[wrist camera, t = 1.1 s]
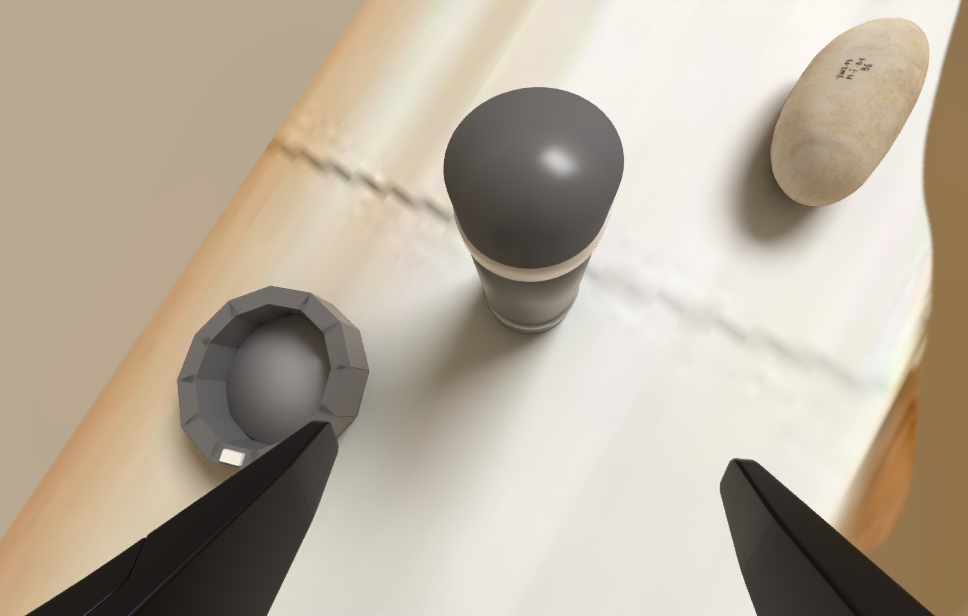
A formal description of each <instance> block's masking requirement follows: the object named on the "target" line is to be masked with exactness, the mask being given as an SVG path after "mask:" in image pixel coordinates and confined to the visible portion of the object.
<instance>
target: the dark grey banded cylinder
mask: <svg viewBox="0 0 968 616" xmlns="http://www.w3.org/2000/svg"><path fill="white" fill-rule="evenodd" d="M623 169H624V155H623V147H622V144H621V140H620V137H619V135H618V133H617V131H616V129H615V127H614V125H613V124H612V122H611V121H610V120H609V118H608V117H607V116H606V115H605V114H604V113H603V112H602V111H601V110H600V109H599V108H598V107H597V106H595V105H594V104H592V103H591V102H589V101H588V100H586V99H584V98H582V97H580V96H578V95H576V94H573V93H570V92H567V91H563V90H559V89H554V88H546V87H532V88H522V89H517V90H512V91H509V92H506V93H503V94H500V95H498V96H495V97H493V98H491V99H489V100H487V101H486V102H484V103H482V104H481V105H479V106H478V107H477V108H475V109H474V110H473V111H472V112H471V113H469V114H468V115H467V116H466V117H465V118H464V119H463V121H462V122H461V123H460V124H459V125H458V127H457V128H456V130H455V131H454V133H453V135H452V137H451V139H450V141H449V143H448V146H447V149H446V153H445V158H444V180H445V185H446V188H447V192H448V194H449V197H450V200H451V202H452V205H453V209H454V216H455V220H456V224H457V227H458V229H459V232H460V234H461V237H462V239H463V241H464V244H465V246H466V247H467V249H468V251H469V252H470V254H471V256H472V258H473V261H474V264H475V266H476V269H477V272H478V274H479V277H480V280H481V282H482V285H483V291H484V295H485V298H486V301H487V303H488V305H489V307H490V309H491V310H492V312H493V313H494V315H495V316H496V317H497V319H498V320H499V321H500V322H501V323H502V324H503V325H505V326H506V327H508V328H509V329H511V330H513V331H516V332H519V333H525V334H536V333H541V332H545V331H547V330H550V329H552V328H553V327H555V326H556V325H557V324H559V323H560V322H561V321H562V320H563V319H564V317H565V316H566V315H567V313H568V312H569V310H570V309H571V307H572V306H573V304H574V301H575V299H576V296H577V294H578V289H579V284H580V282H581V279H582V277H583V274H584V272H585V269H586V267H587V264H588V262H589V259H590V257H591V255H592V252H593V251H594V250H595V248H596V247H597V245H598V243H599V242H600V240H601V238H602V235H603V233H604V230H605V228H606V226H607V223H608V220H609V218H610V214H611V209H612V203H613V200H614V198H615V195H616V193H617V190H618V188H619V185H620V182H621V179H622V174H623Z"/></svg>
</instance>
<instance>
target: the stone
mask: <svg viewBox="0 0 968 616" xmlns="http://www.w3.org/2000/svg"><path fill="white" fill-rule="evenodd" d="M928 63H929V45H928V41H927V38H926V35H925V33H924V32H923V31H922V29H921V28H920V27H919V26H918V25H916V24H915V23H913V22H911V21H909V20H905V19H902V18H883V19H876V20H872V21H869V22H866V23H863V24H861V25H858V26H856V27H854V28H852V29H850V30H848V31H846V32H844V33H842V34H841V35H839V36H838V37H836V38H835V39H834V40H833V41H831V42H830V43H829V44H828V45H827V46H826V47H825V48H823V49H822V50H821V51H820V52H819V53H818V54H817V55H816V56H815V58H814V59H813V60H812V61H811V63H810V64H809V65H808V67H807V68H806V70H805V71H804V72H803V74H802V75H801V77H800V79H799V80H798V82H797V84H796V85H795V87H794V89H793V91H792V92H791V94H790V96H789V98H788V99H787V101H786V103H785V104H784V106H783V108H782V111H781V113H780V116H779V119H778V121H777V124H776V127H775V130H774V135H773V139H772V144H771V163H772V170H773V174H774V177H775V179H776V181H777V183H778V184H779V186H780V187H781V189H782V190H783V191H784V193H785V194H786V195H787V196H789V197H790V198H791V199H792V200H794V201H796V202H798V203H800V204H803V205H808V206H823V205H829V204H832V203H835V202H838V201H840V200H842V199H844V198H846V197H847V196H849V195H851V194H852V193H853V192H855V191H856V190H857V189H858V188H860V187H861V186H862V185H863V183H864V182H865V181H866V180H867V179H868V177H869V176H870V175H871V174H872V172H873V171H874V170H875V168H876V167H877V166H878V165H879V163H880V162H881V161H882V159H883V158H884V157H885V155H886V154H887V152H888V151H889V149H890V148H891V146H892V145H893V143H894V141H895V140H896V138H897V136H898V135H899V133H900V132H901V130H902V128H903V126H904V125H905V123H906V121H907V119H908V117H909V115H910V114H911V112H912V110H913V108H914V106H915V104H916V102H917V100H918V97H919V95H920V92H921V90H922V87H923V84H924V81H925V77H926V74H927V70H928Z"/></svg>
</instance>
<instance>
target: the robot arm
mask: <svg viewBox="0 0 968 616" xmlns="http://www.w3.org/2000/svg"><path fill="white" fill-rule="evenodd" d="M337 453H338V441H337V438H336V435H335V432H334V429H333V426H332V423H331V422H329V421H324V420H313V421H311V422H309V423H308V424H306V425H305V426H303V427H302V428H300V429H299V430H298V431H296V432H295V433H293V434H292V435H290V436H289V437H288V438H286V439H285V440H283V441H282V442H280V443H279V444H277V445H276V446H275V447H273V448H272V449H270V450H269V451H267V452H266V453H265V454H263V455H262V456H260V457H259V458H257V459H256V460H254V461H253V462H252V463H250V464H249V465H247V466H246V467H244V468H243V469H242V470H240V471H239V472H237V473H236V474H234V475H233V476H231V477H230V478H229V479H227V480H226V481H224V482H223V483H221V484H220V485H219V486H217V487H216V488H214V489H213V490H211V491H210V492H208V493H207V494H206V495H204V496H203V497H201V498H200V499H198V500H197V501H196V502H194V503H193V504H191V505H190V506H188V507H187V508H186V509H184V510H183V511H181V512H180V513H178V514H177V515H175V516H174V517H173V518H171V519H170V520H168V521H167V522H165V523H164V524H163V525H161V526H160V527H158V528H157V529H155V530H154V531H152V532H151V533H150V534H148V535H147V537H146V538H142V539H141V540H139V541H138V542H136V543H135V544H134V545H132V546H131V547H129V548H128V549H126V550H125V551H123V552H122V553H121V554H119V555H118V556H116V557H115V558H113V559H112V560H110V561H109V562H107V563H106V564H104V565H103V566H101V567H100V568H98V569H97V570H95V571H94V572H93V573H91V574H90V575H88V576H87V577H85V578H84V579H82V580H80V581H79V582H77V583H76V584H74V585H73V586H71V587H69V588H68V589H66V590H65V591H63V592H62V593H60V594H59V595H57V596H55V597H54V598H52V599H51V600H49V601H48V602H46V603H44V604H43V605H41V606H40V607H38V608H36V609H35V610H33V611H32V612H30V613H28V614H27V615H25V616H267V614H268V612H269V610H270V608H271V606H272V604H273V602H274V600H275V598H276V596H277V593H278V591H279V589H280V587H281V585H282V583H283V581H284V579H285V577H286V575H287V573H288V571H289V568H290V566H291V564H292V562H293V560H294V558H295V556H296V554H297V552H298V550H299V548H300V546H301V543H302V541H303V539H304V537H305V535H306V533H307V531H308V529H309V527H310V525H311V522H312V520H313V518H314V516H315V513H316V511H317V508H318V505H319V503H320V500H321V497H322V495H323V492H324V489H325V486H326V484H327V481H328V478H329V475H330V473H331V470H332V467H333V464H334V462H335V459H336V456H337ZM720 494H721V498H722V501H723V505H724V509H725V513H726V517H727V521H728V524H729V528H730V532H731V536H732V540H733V544H734V547H735V551H736V555H737V559H738V562H739V566H740V569H741V572H742V575H743V578H744V581H745V584H746V587H747V589H748V592H749V595H750V598H751V600H752V603H753V606H754V608H755V611H756V614H757V616H935V615H933V614H932V613H931V612H930V611H928V609H926V608H925V607H924V606H923V605H922V604H921V603H920V602H918V601H917V600H916V599H915V598H914V597H913V596H911V595H910V594H909V593H908V592H907V591H906V590H905V589H903V588H902V587H901V586H900V585H899V584H898V583H896V582H895V581H894V580H893V579H892V578H891V577H889V576H888V575H887V574H886V573H885V572H883V570H881V569H880V568H879V567H878V566H877V565H876V564H874V563H873V562H872V561H871V560H870V559H869V558H868V557H866V556H865V555H864V554H863V553H862V552H861V551H859V550H858V549H857V548H856V547H855V546H854V545H852V544H851V543H850V542H849V541H848V540H847V539H846V538H844V537H843V536H842V535H841V534H840V533H839V532H837V531H836V530H835V529H834V528H833V527H832V526H831V525H829V524H828V523H827V522H826V521H825V520H824V519H822V518H821V517H820V516H819V515H818V514H817V513H815V512H814V511H813V510H812V509H811V508H810V507H809V506H807V505H806V504H805V503H804V502H803V501H802V500H800V499H799V498H798V497H797V496H796V495H795V494H794V493H792V492H791V491H790V490H789V489H788V488H787V487H785V486H784V485H783V484H782V483H781V482H780V481H778V480H777V479H776V478H775V477H774V476H773V475H772V474H770V473H769V472H768V471H767V470H766V469H765V468H763V467H762V466H761V465H760V464H759V463H757V462H756V461H754V460H750V459H739V458H734V459H732V460H730V462H729V464H728V466H727V469H726V471H725V473H724V475H723V477H722V480H721V482H720Z"/></svg>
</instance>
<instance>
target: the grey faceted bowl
mask: <svg viewBox="0 0 968 616" xmlns="http://www.w3.org/2000/svg"><path fill="white" fill-rule="evenodd" d="M292 314H297V315H292ZM368 374H369V368H368V364H367V360H366V356H365V352H364V348H363V343H362V339H361V335H360V331H359V330H358V329H357V328H356V327H355V326H354V325H353V324H352V323H351V322H350V321H349V320H348V319H347V318H346V317H345V316H344V315H343V314H342V313H341V312H340V311H339V310H338V309H337V308H336V307H335V306H333V305H332V304H331V303H329V302H327V301H325V300H323V299H321V298H319V297H318V296H316V295H314V294H312V293H309V292H303V291H297V290H292V289H286V288H280V287H274V286H268V287H266V288H263V289H260V290H257V291H255V292H252V293H249V294H246V295H244V296H241V297H238V298H235V299H232V300H230V301H228V302H227V303H226V304H225V305H224V306H223V307H222V308H221V309H220V310H219V311H218V312H217V313H216V314H215V315H214V316H213V317H212V318H211V319H210V320H209V321H208V322H207V323H206V324H205V325H204V326H203V327H202V328H201V329H200V330H199V331H198V332H197V333H196V334H195V336H194V338H193V341H192V343H191V346H190V348H189V351H188V354H187V356H186V359H185V361H184V364H183V366H182V369H181V372H180V374H179V377H178V379H177V384H178V395H179V406H180V418H181V426H182V428H183V430H184V431H185V432H186V434H187V435H188V436H189V437H190V439H191V440H192V441H193V443H194V444H195V445H196V447H197V448H198V449H199V450H200V452H201V453H202V454H203V456H204V457H205V458H206V460H207V461H208V462H211V463H214V464H218V465H222V466H225V467H229V468H233V469H237V470H242V469H243V468H244V467H246V466H247V465H249V464H250V463H252V462H253V461H254V460H256V459H257V458H259V457H260V456H262V455H263V454H265V453H266V452H267V451H269V450H270V449H272V448H273V447H275V446H276V445H277V444H279V443H280V442H282V441H283V440H285V439H286V438H288V437H289V436H290V435H292V434H293V433H295V432H296V431H298V430H299V429H300V428H302V427H303V426H305V425H306V424H308V423H309V422H311V421H313V420H324V421H329V422H331V423H332V426H333V429H334V432H335V435H336V438H338V437H339V435H340V434H341V433H342V432H343V431H344V430H345V429H346V428H347V427H348V425H349V424H350V423H351V422H352V421H353V420H354V419H355V418H356V417H357V414H358V410H359V407H360V403H361V399H362V396H363V392H364V388H365V385H366V381H367V377H368ZM252 438H253V439H252Z"/></svg>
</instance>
